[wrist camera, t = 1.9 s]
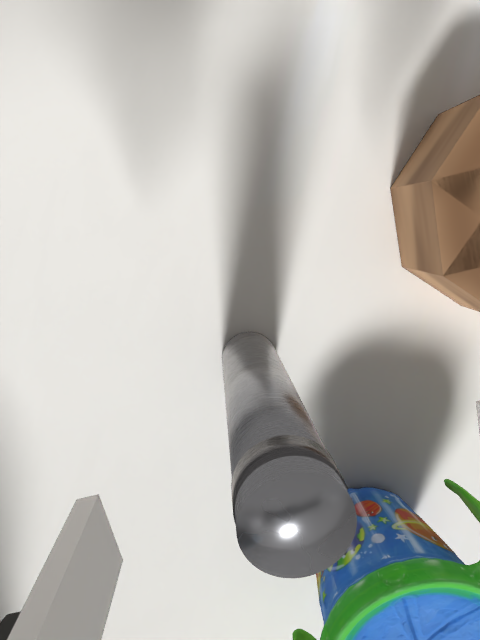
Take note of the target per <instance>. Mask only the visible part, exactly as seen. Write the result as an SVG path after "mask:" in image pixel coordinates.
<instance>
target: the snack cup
mask: <svg viewBox="0 0 480 640" xmlns="http://www.w3.org/2000/svg"><path fill="white" fill-rule="evenodd" d="M444 482H445V485H446V486H447V487H448V488H449V489H450V490H452V491H453V492H454V493H456V494H457V495H459V497H460V498H461V499H462V501H463V502H464V503H465V504H466V506H467V507H468V508H469V510H470V511H471V512H472V513H473V515H474V516H475V517H476V519H477V520H478V521H479V522H480V502H479V501H478V500H477V499H476V498H474V497H473V496H472V495H471V494H470V493H468V492H467V491H466V490H465V489H463V488H462V487H460V486H459V485H458V484H456V483H454V482H453V481H451V480H449V479H445V480H444ZM347 490H348V493H349V495H350V497H351V499H352V501H353V503H354V506H355V509H356V514H357V528H356V533H355V536H354V539H353V541H352V543H351V545H350V547H349V548H348V550H347V551H346V553H345V554H344V555H343V556H342V557H341V558H340V559H339V560H338V561H337V562H336V563H334V564H333V565H332V566H330V567H329V568H327V569H325V570H324V571H321V572H319V573H317V574H316V577H317V585H318V594H319V602H320V606H321V611H322V616H323V620H324V628H323V631H322V634H321V638H320V640H480V560H479V562H477V563H475V564H472V565H465V564H464V563H463V562H462V561H461V560H460V559H459V558H458V557H457V555H456V554H455V553H454V552H453V551H452V550H451V549H450V547H449V546H448V545H447V544H446V543H445V542H444V541H443V540H442V539H441V538H440V537H439V536H438V535H437V534H436V533H435V532H434V531H433V530H432V529H431V528H430V527H429V526H428V525H427V524H426V523H425V522H424V521H423V520H422V518H420V517H419V516H418V515H417V514H416V513H415V512H414V511H413V510H412V509H411V508H410V507H409V506H408V505H407V504H406V503H405V502H404V501H403V500H402V499H401V498H400V497H399V496H397V495H395V494H394V493H392V492H388V491H385V490H381V489H377V488H371V487H363V488H360V489H352V488H350V489H347ZM293 640H316V639H315V638H314V637H313V636H312V635H311V634H309V633H308V632H306V631H304V630H303V629H296V630H295V631H294V632H293Z"/></svg>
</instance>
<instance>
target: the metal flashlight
mask: <svg viewBox="0 0 480 640" xmlns="http://www.w3.org/2000/svg"><path fill="white" fill-rule="evenodd" d="M222 366H223V377H224V389H225V401H226V413H227V425H228V437H229V449H230V461H231V473H232V483H231V489H232V503H233V515H234V520H235V524H236V532H237V539H238V543H239V546H240V549H241V550H242V552H243V554H244V555H245V557H246V558H247V559H248V560H249V561H250V562H251V563H252V564H253V565H254V566H255V567H257V568H258V569H260V570H261V571H263V572H265V573H268V574H270V575H273V576H277V577H283V578H301V577H306V576H311V575H314V574H317V573H319V572H321V571H324V570H325V569H327V568H329V567H330V566H332V565H333V564H334V563H336V562H337V561H338V560H339V559H340V558H341V557H342V556H343V555H344V554H345V553H346V551H347V550H348V548H349V547H350V545H351V543H352V541H353V539H354V536H355V533H356V528H357V514H356V509H355V506H354V503H353V501H352V499H351V497H350V495H349V493H348V490H347V486H346V484H345V482H344V480H343V478H342V476H341V474H340V472H339V470H338V468H337V466H336V464H335V462H334V460H333V459H332V457H331V456H330V454H329V453H328V452H327V450H326V448H325V446H324V444H323V442H322V440H321V438H320V436H319V434H318V432H317V430H316V428H315V426H314V424H313V423H312V421H311V419H310V417H309V415H308V413H307V411H306V409H305V407H304V405H303V403H302V401H301V399H300V397H299V395H298V393H297V391H296V389H295V387H294V385H293V383H292V381H291V379H290V377H289V375H288V373H287V372H286V370H285V368H284V366H283V364H282V362H281V360H280V358H279V356H278V354H277V352H276V350H275V348H274V346H273V344H272V343H271V341H270V340H269V339H268V338H267V337H265V336H264V335H262V334H259V333H256V332H244V333H240V334H238V335H236V336H234V337H233V338H231V339H230V340H229V341H228V343H227V344H226V346H225V347H224V350H223V354H222Z"/></svg>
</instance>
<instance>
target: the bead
mask: <svg viewBox="0 0 480 640" xmlns="http://www.w3.org/2000/svg"><path fill="white" fill-rule="evenodd" d="M390 189H391V196H392V203H393V210H394V216H395V223H396V230H397V237H398V244H399V250H400V257H401V264H402V267H403V268H405V269H406V270H408V271H409V272H411V273H412V274H414V275H415V276H417V277H419V278H420V279H422V280H423V281H425V282H426V283H428V284H429V285H431V286H432V287H434V288H435V289H437V290H438V291H440V292H441V293H443V294H444V295H446V296H447V297H449V298H450V299H452V300H453V301H455V302H456V303H458V304H459V305H461V306H464V307H467V308H470V309H473V310H476V311H479V312H480V95H479V96H476V97H474V98H472V99H470V100H468V101H466V102H464V103H462V104H460V105H457V106H455V107H453V108H451V109H449V110H447V111H445V112H443V113H441V114H438V116H437V117H436V119H435V120H434V122H433V123H432V125H431V127H430V128H429V130H428V131H427V133H426V134H425V136H424V137H423V139H422V140H421V142H420V143H419V145H418V147H417V148H416V150H415V151H414V153H413V154H412V156H411V157H410V159H409V160H408V162H407V163H406V165H405V167H404V168H403V170H402V171H401V173H400V174H399V176H398V177H397V179H396V180H395V182H394V183H393V185H392V187H391V188H390Z"/></svg>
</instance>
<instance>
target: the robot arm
mask: <svg viewBox="0 0 480 640" xmlns="http://www.w3.org/2000/svg"><path fill="white" fill-rule="evenodd" d="M476 407H477V416H478V425H479V434H480V401H476ZM122 562H123V559H122V556H121V554H120V551H119V548H118V546H117V543H116V540H115V537H114V535H113V532H112V529H111V527H110V524H109V521H108V519H107V516H106V513H105V510H104V508H103V505H102V502H101V500H100V497H99V494H98V495H94V496H89V497H85V498H81V499H77V500H76V502H75V504H74V506H73V508H72V510H71V512H70V514H69V516H68V518H67V520H66V522H65V524H64V526H63V528H62V530H61V532H60V534H59V536H58V538H57V540H56V542H55V544H54V546H53V548H52V550H51V552H50V554H49V556H48V558H47V560H46V562H45V564H44V566H43V568H42V570H41V572H40V574H39V576H38V578H37V580H36V582H35V584H34V586H33V588H32V590H31V592H30V594H29V596H28V598H27V600H26V602H25V604H24V606H23V608H22V610H21V612H17V613H12V614H8V615H6V617H5V618H4V619H3V620H2V621H1V622H0V640H101V638H102V635H103V631H104V627H105V624H106V620H107V617H108V613H109V609H110V606H111V602H112V598H113V595H114V591H115V587H116V584H117V580H118V576H119V573H120V569H121V565H122Z"/></svg>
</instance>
